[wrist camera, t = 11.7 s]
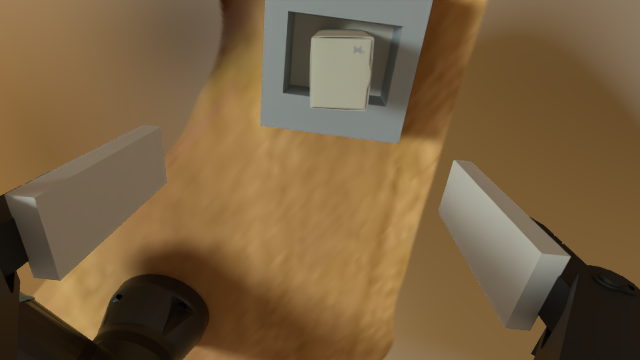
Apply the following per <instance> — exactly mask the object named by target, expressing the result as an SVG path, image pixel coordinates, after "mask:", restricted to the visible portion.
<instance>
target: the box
mask: <svg viewBox="0 0 640 360" xmlns="http://www.w3.org/2000/svg"><path fill="white" fill-rule="evenodd" d="M373 52H374V37H372V36H370V35H369V34H367V33H365V32H364V31H362V30H356V29H321V30H319V31H318V32H317V33H316V34H315V35H314V36H313V37H312V39H311V52H310V107H311V108H313V109H326V110H340V111H366V110H367V108H368V102H369V94H370V85H371V76H372V64H373Z"/></svg>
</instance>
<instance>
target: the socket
mask: <svg viewBox="0 0 640 360" xmlns="http://www.w3.org/2000/svg"><path fill="white" fill-rule="evenodd" d="M432 3H433V0H265V22H264V48H263V74H262V100H261V126H267V127H275V128H282V129H290V130H297V131H305V132H313V133H320V134H328V135H335V136H343V137H351V138H358V139H366V140H373V141H381V142H389V143H396V144H399V140H400V136H401V132H402V127H403V123H404V119H405V115H406V111H407V107H408V102H409V98H410V94H411V90H412V86H413V82H414V77H415V73H416V69H417V65H418V61H419V57H420V52H421V48H422V44H423V40H424V36H425V32H426V27H427V23H428V19H429V15H430V11H431V7H432ZM321 29H356V30H362V31H364V32H365V33H367V34H369V35H370V36H372V37H374V52H373V64H372V76H371V85H370V94H369V102H368V108H367V110H366V111H340V110H326V109H313V108H311V107H310V52H311V39H312V37H313V36H314V35H315V34H316V33H317V32H318V31H319V30H321Z"/></svg>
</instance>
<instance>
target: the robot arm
mask: <svg viewBox="0 0 640 360" xmlns="http://www.w3.org/2000/svg"><path fill="white" fill-rule="evenodd" d="M166 183H167V177H166V168H165V159H164V150H163V141H162V132H161V127H160V126H150V125H142V126H140V127H138V128H136V129H134V130H132V131H130V132H128V133H126V134H124V135H122V136H120V137H118V138H116V139H114V140H112V141H110V142H108V143H106V144H104V145H102V146H100V147H98V148H96V149H94V150H92V151H90V152H88V153H86V154H84V155H82V156H80V157H78V158H76V159H74V160H72V161H70V162H68V163H66V164H64V165H62V166H60V167H58V168H56V169H54V170H52V171H50V172H47V173H45V174H43V175H41V176H39V177H37V178H36V179H34V180H31V181H29V182H27V183H25V184H24V185H22V186H19V187H17V188H15V189H13V190H11V191H9V192H7V193H5V194H3V195H1V196H0V360H183V359H184V358H185V356H186V355H187V354H188V353H189V352H190V351H191V350H192V349H193V348H194V346H195V345H196V344H197V343H198V342H199V341H200V339H201V338H202V336H203V334H204V331H205V329H206V327H207V324H208V320H209V315H208V310H207V307H206V305H205V303H204V301H203V300H202V299H201V297H200V296H199V295H198V294H197V293H196V292H195V291H194V290H192V289H191V288H190V287H188V286H187V285H185V284H183V283H181V282H179V281H177V280H175V279H172V278H169V277H165V276H160V275H140V276H136V277H133V278H131V279H129V280H127V281H126V282H124V283H123V284H122V285H121V286H120V288H119V289H118V290H117V291H116V292H115V294H114V295H113V296H112V298H111V300H110V302H109V304H108V307H107V310H106V312H105V315H104V318H103V320H102V323H101V326H100V329H99V331H98V334H97V336H96V337H95V339H94V340H93V341H91V340H90V339H88V338H87V337H86V336H84V335H83V334H82V333H80V332H79V331H77V330H76V329H74V328H73V327H71V326H70V325H69V324H67V323H66V322H64V321H63V320H62V319H60V318H59V317H57V316H56V315H55V314H53V313H52V312H51V311H49V310H48V309H46V308H45V307H44V306H42V305H41V304H40V303H38V302H37V301H35V298H34V297H33V296H27V295H26V294H24V293H22V292H20V279H19V277H18V275H17V271H16V270H17V269H19V268H20V267H21V266H23V265H24V264H25V263H26V262H29V265H30V268H31V271H32V274H33V277H34V278H41V279H50V280H59V281H60V280H62V279H63V278H64V277H65V276H66V275H67V274H68V273H69V272H70V271H71V270H72V269H73V268H75V267H76V266H77V265H78V264H79V263H80V262H81V261H82V260H83V259H84V258H85V257H87V256H88V255H89V254H90V253H91V252H92V251H93V250H94V249H95V248H96V247H97V246H98V245H100V244H101V243H102V242H103V241H104V240H105V239H106V238H107V237H108V236H109V235H110V234H112V233H113V232H114V231H115V230H116V229H117V228H118V227H119V226H120V225H121V224H122V223H123V222H125V221H126V220H127V219H128V218H129V217H130V216H131V215H132V214H133V213H134V212H135V211H137V210H138V209H139V208H140V207H141V206H142V205H143V204H144V203H145V202H146V201H147V200H148V199H150V198H151V197H152V196H153V195H154V194H155V193H156V192H157V191H158V190H159V189H160V188H162V187H163V186H164V185H165V184H166ZM438 213H439V215H440V217H441V219H442V220H443V222H444V224H445V225H446V227H447V229H448V231H449V232H450V234H451V236H452V238H453V239H454V241H455V243H456V244H457V246H458V248H459V250H460V251H461V253H462V255H463V256H464V258H465V260H466V262H467V264H468V265H469V267H470V269H471V270H472V272H473V274H474V276H475V277H476V279H477V281H478V283H479V284H480V286H481V288H482V290H483V291H484V293H485V295H486V296H487V298H488V300H489V302H490V303H491V305H492V307H493V309H494V310H495V312H496V314H497V316H498V317H499V319H500V321H501V323H502V324H503V326H504V328H510V329H520V330H529V331H530V330H531V328H532V326H533V324H534V322H535V320H536V319H537V317H538V315H539V316H540V318H541V319H542V320H543V322H544V323H545V325H546V326H547V327H546V329H545V330H544V332H543V334H542V336H541V337H540V339H539V341H538V342H537V344H536V346H535V348H534V349H533V351H532V353H531V354H532V355H534V356H535V358H534V360H640V289H639V288H638V287H636V286H635V285H634V284H633V283H632V282H630V281H629V280H627V279H626V278H624V277H623V276H621V275H619V274H617V273H614V272H612V271H610V270H607V269H604V268H601V267H597V266H591V265H586V264H585V263H584V262H583V261H582V260H581V259H580V258H579V257H578V256H576V255H575V254H574V253H573V252H572V251H571V250H570V249H569V248H568V247H567V246H566V245H565V244H562V242H561V241H560V240H559V239H558V238H557V237H556V236H554V234H553V233H552V232H551V231H550V230H549V229H547V228H546V227H545V226H544V225H543V224H541V223H539V222H538V221H536V220H534V219H533V218H531V217H529V216H528V215H527V214H526V213H524V212H523V211H522V210H521V209H520V208H519V207H518V206H517V205H516V204H515V203H514V202H513V201H512V200H511V199H510V198H508V196H507V195H506V194H504V193H503V192H502V191H501V190H500V189H499V188H498V187H497V186H496V185H495V184H494V183H493V182H492V181H491V180H490V179H489V178H488V177H487V176H486V175H485V174H484V173H482V172H481V171H480V170H479V169H478V168H477V167H476V166H475V165H474V164H473V163H472V162H470V161H461V160H454V162H453V165H452V168H451V172H450V175H449V178H448V182H447V185H446V188H445V191H444V194H443V198H442V201H441V204H440V208H439V211H438Z"/></svg>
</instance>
